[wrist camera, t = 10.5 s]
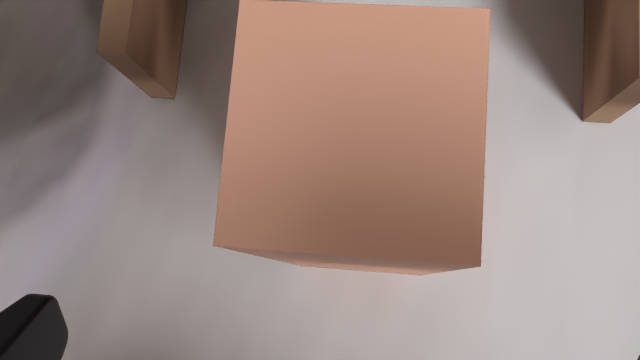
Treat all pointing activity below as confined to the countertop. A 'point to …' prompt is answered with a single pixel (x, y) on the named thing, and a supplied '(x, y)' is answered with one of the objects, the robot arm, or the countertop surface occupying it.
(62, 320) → the robot arm
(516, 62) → the countertop surface
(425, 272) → the block
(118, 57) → the brown u-shaped piece
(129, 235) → the countertop surface
